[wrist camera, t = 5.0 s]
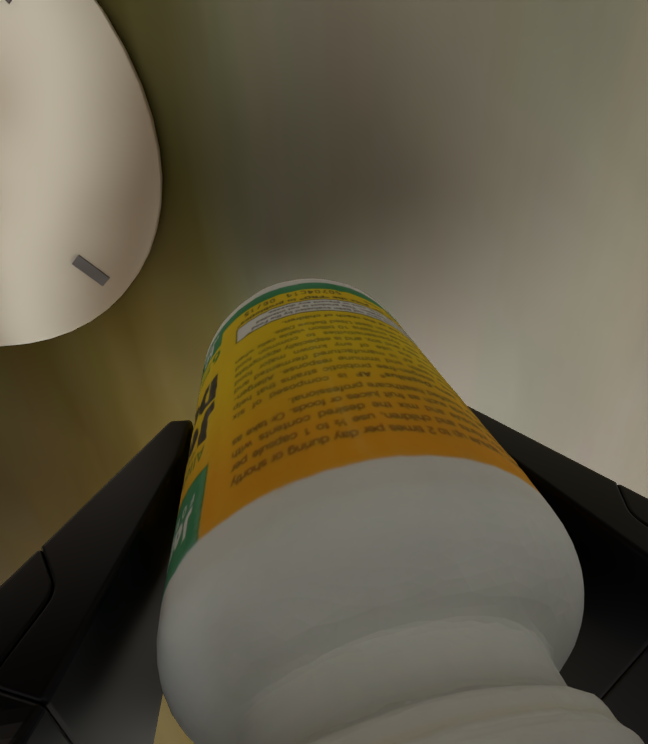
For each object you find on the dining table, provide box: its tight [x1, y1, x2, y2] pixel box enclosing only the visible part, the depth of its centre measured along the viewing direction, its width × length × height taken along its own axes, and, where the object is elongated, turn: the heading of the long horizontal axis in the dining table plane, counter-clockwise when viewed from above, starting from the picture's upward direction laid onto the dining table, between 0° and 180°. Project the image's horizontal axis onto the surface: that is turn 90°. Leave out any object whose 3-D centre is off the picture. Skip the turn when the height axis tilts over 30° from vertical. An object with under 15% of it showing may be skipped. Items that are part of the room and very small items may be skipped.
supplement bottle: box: [157, 278, 644, 744], centre depth 7 cm, size 5×5×10 cm
